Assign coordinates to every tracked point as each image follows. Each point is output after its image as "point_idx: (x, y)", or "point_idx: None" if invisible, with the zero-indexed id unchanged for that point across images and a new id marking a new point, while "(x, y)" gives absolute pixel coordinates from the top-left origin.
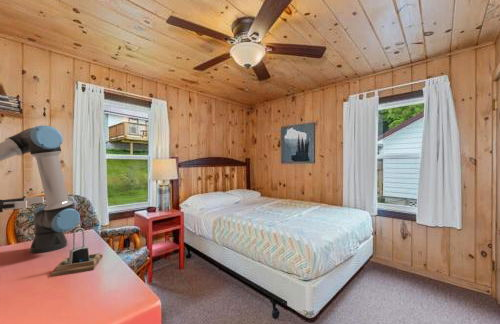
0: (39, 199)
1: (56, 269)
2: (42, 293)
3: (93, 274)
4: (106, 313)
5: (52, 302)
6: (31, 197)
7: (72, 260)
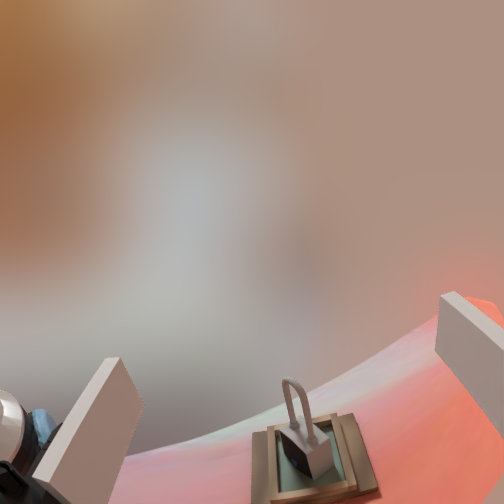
0: (120, 398)
1: (356, 486)
2: (467, 435)
3: (382, 403)
4: (492, 318)
5: None
6: (80, 424)
7: (331, 454)
